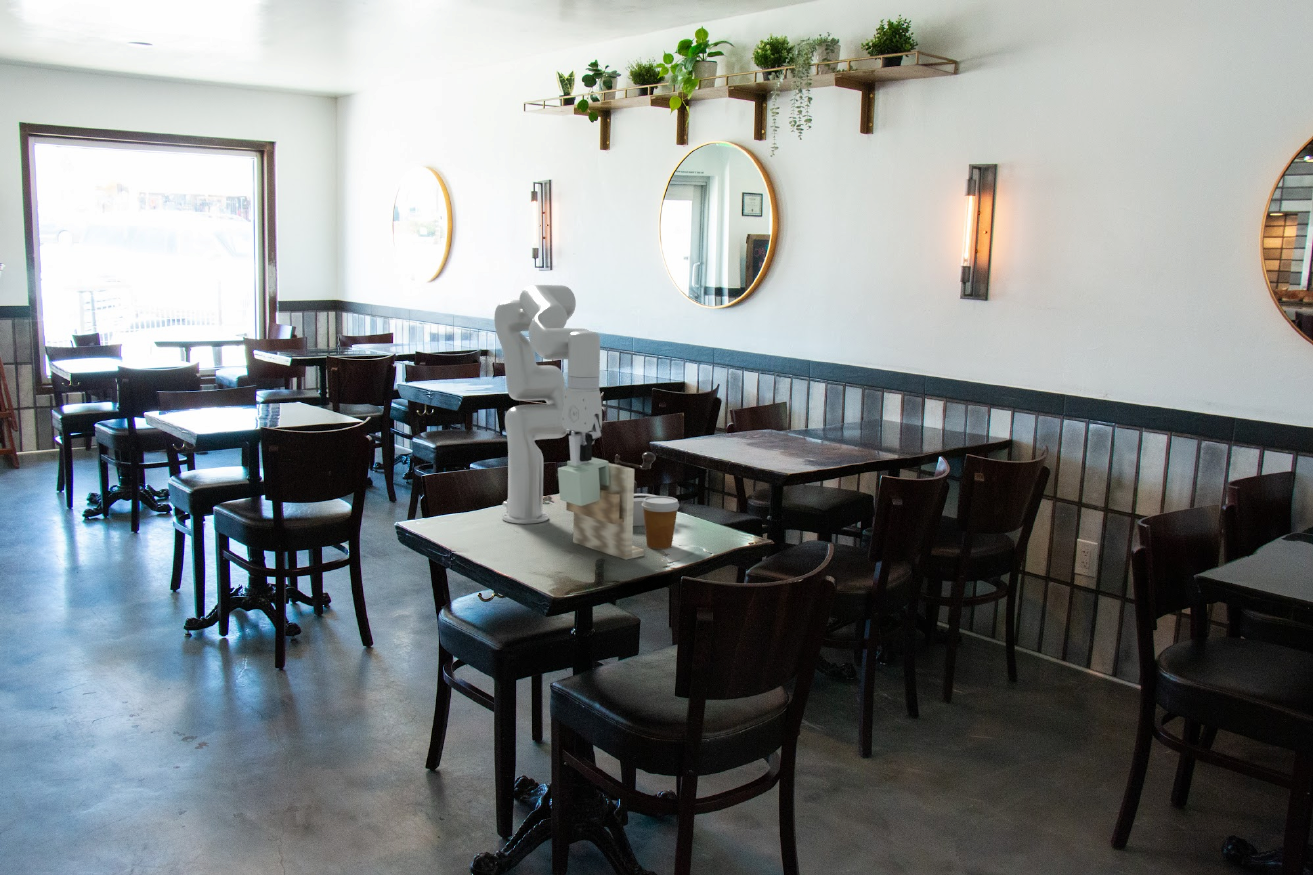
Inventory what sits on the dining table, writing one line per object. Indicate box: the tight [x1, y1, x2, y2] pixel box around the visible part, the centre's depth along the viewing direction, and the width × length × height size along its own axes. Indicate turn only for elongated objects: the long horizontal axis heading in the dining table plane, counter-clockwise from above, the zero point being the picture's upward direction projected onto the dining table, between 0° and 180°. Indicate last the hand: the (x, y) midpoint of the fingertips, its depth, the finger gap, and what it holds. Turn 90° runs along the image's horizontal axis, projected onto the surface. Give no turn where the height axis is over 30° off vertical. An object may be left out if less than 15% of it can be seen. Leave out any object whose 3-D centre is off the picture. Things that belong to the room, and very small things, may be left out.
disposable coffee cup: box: [642, 495, 680, 550], centre depth 261 cm, size 10×10×12 cm
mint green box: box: [557, 433, 610, 506], centre depth 249 cm, size 8×9×16 cm
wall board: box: [565, 462, 645, 561], centre depth 255 cm, size 20×9×22 cm, turn 44°
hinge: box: [633, 493, 657, 527], centre depth 283 cm, size 17×5×10 cm, turn 100°
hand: (582, 459), depth 248 cm, fingers closed on mint green box
